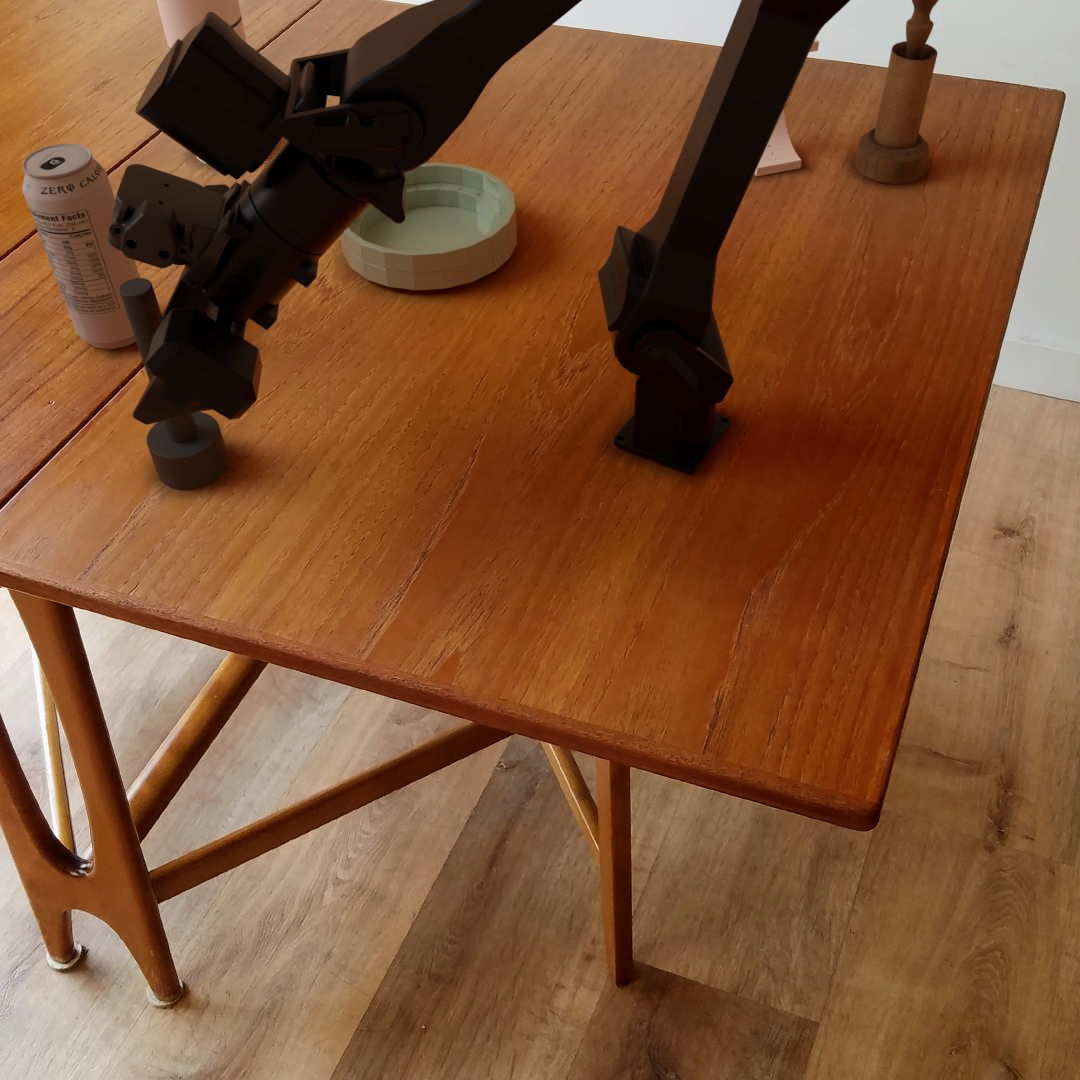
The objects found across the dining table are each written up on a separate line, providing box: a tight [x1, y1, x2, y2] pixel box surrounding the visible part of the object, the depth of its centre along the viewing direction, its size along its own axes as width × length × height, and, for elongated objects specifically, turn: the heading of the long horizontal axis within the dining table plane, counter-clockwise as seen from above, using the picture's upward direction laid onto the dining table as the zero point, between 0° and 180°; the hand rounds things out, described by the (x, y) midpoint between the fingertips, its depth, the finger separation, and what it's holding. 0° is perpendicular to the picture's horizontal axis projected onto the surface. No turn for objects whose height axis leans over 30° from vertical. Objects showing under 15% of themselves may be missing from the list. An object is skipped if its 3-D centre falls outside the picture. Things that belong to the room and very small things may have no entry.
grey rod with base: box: [119, 277, 230, 491], centre depth 77 cm, size 5×5×15 cm
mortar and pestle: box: [854, 0, 940, 185], centre depth 103 cm, size 7×6×18 cm
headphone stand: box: [754, 38, 820, 177], centre depth 107 cm, size 5×6×12 cm
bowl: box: [339, 162, 518, 291], centre depth 100 cm, size 15×15×4 cm
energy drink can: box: [21, 142, 141, 350], centre depth 89 cm, size 6×6×15 cm
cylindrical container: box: [156, 0, 248, 165], centre depth 106 cm, size 7×7×25 cm
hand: (151, 374), depth 76 cm, fingers open, 9 cm apart
